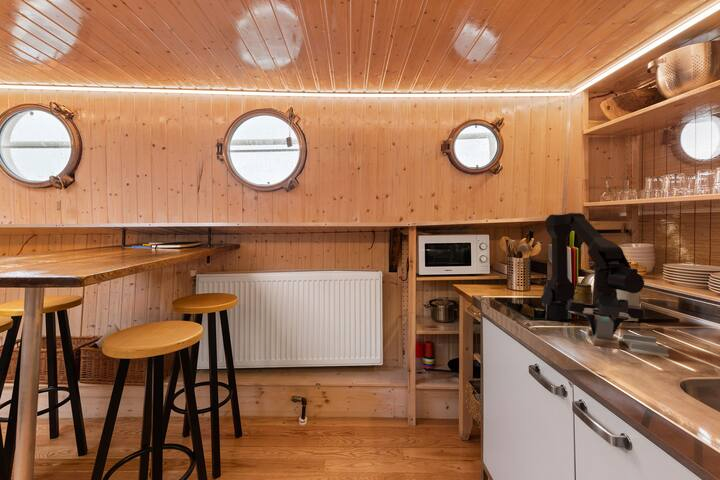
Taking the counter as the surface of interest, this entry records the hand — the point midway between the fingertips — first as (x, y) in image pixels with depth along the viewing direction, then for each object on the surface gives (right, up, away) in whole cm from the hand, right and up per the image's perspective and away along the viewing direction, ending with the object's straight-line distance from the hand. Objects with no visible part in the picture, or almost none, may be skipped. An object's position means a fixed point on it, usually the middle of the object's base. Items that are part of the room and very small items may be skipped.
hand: (602, 336), depth 103 cm
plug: (0, -2, 0) cm, 2 cm away
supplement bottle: (+9, 0, +43) cm, 43 cm away
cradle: (+9, -2, -4) cm, 10 cm away
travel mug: (+27, -1, +25) cm, 36 cm away
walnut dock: (0, -2, 0) cm, 2 cm away
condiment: (+15, 0, +31) cm, 35 cm away
